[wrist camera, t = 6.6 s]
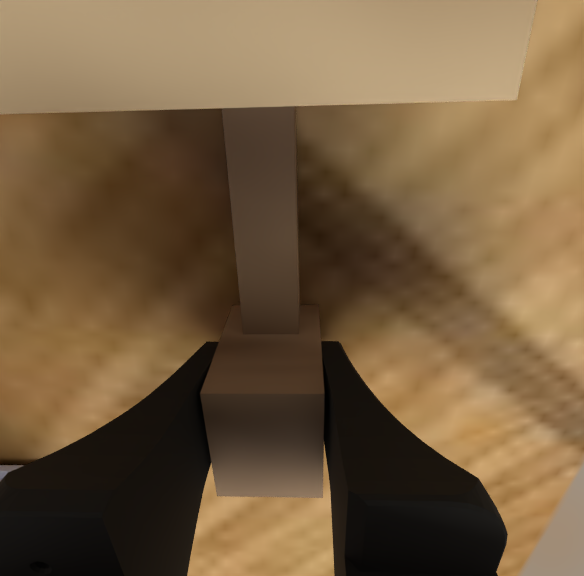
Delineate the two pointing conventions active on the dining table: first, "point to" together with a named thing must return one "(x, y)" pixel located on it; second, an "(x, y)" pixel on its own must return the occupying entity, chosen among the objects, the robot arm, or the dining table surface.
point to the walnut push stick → (266, 326)
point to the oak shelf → (257, 53)
